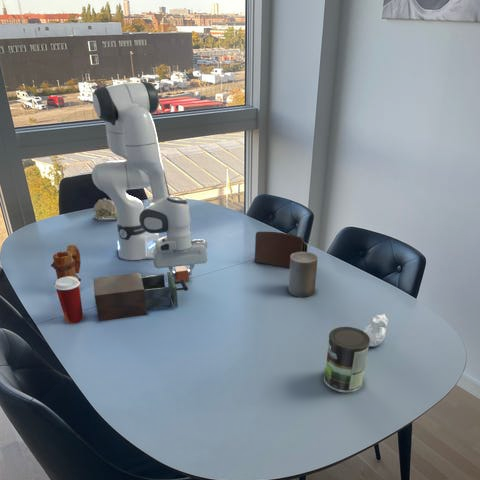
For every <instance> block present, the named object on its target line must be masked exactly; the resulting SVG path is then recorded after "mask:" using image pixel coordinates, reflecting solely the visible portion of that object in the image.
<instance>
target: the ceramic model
mask: <svg viewBox="0 0 480 480" xmlns="http://www.w3.org/2000/svg"><path fill="white" fill-rule="evenodd" d="M93 211H94V212H95V214H94V216H95V217H97V218H95V217H94V216H93V218H94V220H97V221H118V219H117V213H116V209H115V206H114V203H113V201H112V200H111V199H107V198H106V197H104V198H102V199H98V200H97V202H96V203H94V205H93ZM103 217H104V218H115V219H102V218H103ZM99 218H100V219H99Z"/></svg>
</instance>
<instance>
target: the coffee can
mask: <svg viewBox="0 0 480 480" xmlns="http://www.w3.org/2000/svg"><path fill="white" fill-rule="evenodd" d="M369 344H370V337H369V336H368V335H367V334H366V333H365V332H364V330H361V329H359V328H356V327H352V326H339V327H336V328H333V329H332V330H330V332H329V334H328V344H327V352H326V353H327V354H326V361H325V368H324V376H323V381H324V383H325V385H326V386H327V387H328V388H330V389H331V390H333V391H335V392H339V393H343V394H344V393H346V394H347V393H348V394H349V393H354V392H357V391H359V390H360V389H361V387H362V386H363V380H364V373H365V368H366V362H367V357H368V351H369V347H370V346H369Z"/></svg>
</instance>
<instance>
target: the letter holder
mask: <svg viewBox="0 0 480 480" xmlns="http://www.w3.org/2000/svg"><path fill="white" fill-rule="evenodd" d="M254 239H255V241H254V242H255V243H254V263H260V264H266V265H272V266H276V267H277V266H278V267H283V268H289V269H290V256H291V254H293V253H296V252H308V244H307V242H305V240H304V239H303V238H302V237H301V236H297V235H293V234H291V233H285V232H278V231H256V233H255V238H254Z"/></svg>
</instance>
